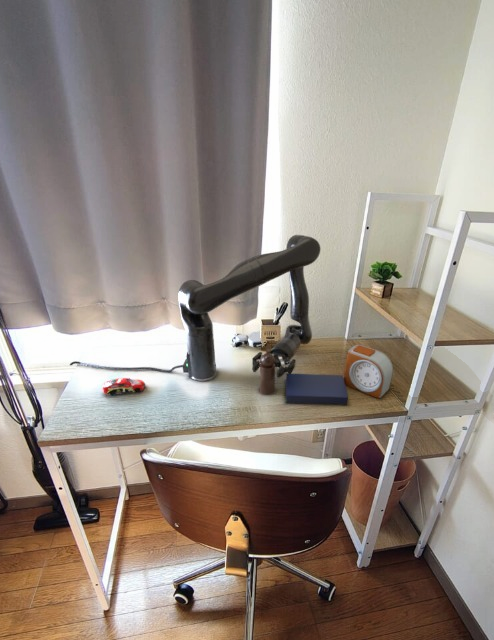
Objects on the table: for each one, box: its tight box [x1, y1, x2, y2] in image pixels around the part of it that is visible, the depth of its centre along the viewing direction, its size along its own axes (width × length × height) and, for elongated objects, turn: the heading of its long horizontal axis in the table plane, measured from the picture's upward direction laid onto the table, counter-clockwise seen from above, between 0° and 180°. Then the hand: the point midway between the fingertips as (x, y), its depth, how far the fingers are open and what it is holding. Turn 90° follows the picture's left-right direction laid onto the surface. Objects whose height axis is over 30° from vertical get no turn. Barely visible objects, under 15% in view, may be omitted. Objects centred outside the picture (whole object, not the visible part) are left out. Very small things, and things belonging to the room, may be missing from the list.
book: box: [285, 372, 349, 406], centre depth 126 cm, size 20×14×3 cm
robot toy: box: [230, 331, 266, 350], centre depth 154 cm, size 12×4×15 cm
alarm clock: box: [343, 344, 394, 399], centre depth 128 cm, size 15×8×14 cm, turn 53°
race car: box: [102, 377, 146, 396], centre depth 123 cm, size 13×5×4 cm, turn 103°
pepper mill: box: [259, 349, 276, 396], centre depth 123 cm, size 5×5×14 cm
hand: (265, 372), depth 121 cm, fingers open, 8 cm apart
